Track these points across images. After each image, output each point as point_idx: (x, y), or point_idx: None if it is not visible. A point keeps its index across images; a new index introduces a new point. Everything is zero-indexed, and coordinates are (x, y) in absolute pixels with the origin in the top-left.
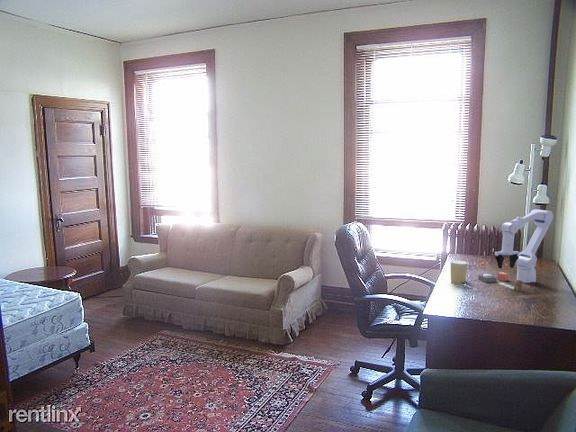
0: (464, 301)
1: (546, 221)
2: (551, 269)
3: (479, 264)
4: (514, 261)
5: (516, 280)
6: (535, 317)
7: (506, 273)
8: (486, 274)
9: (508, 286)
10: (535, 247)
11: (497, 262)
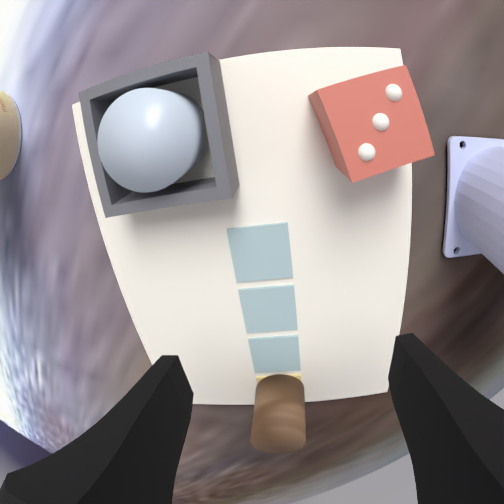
0: (20, 389)
1: None
2: None
3: None
4: (418, 478)
5: (267, 438)
6: (182, 495)
7: (415, 143)
8: (138, 120)
9: (263, 330)
10: None
11: (112, 416)
